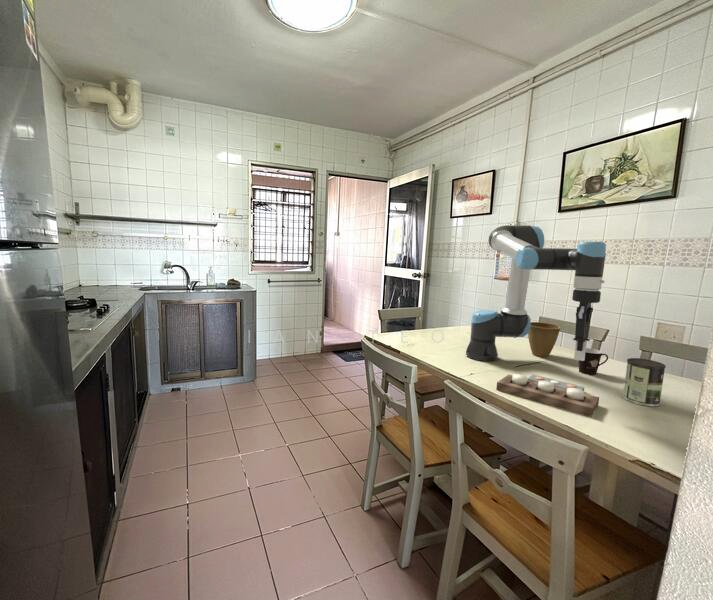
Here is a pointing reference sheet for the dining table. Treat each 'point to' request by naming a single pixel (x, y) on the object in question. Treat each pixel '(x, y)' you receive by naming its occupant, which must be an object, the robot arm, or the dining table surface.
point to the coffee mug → (591, 361)
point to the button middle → (546, 386)
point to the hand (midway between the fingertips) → (579, 359)
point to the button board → (549, 396)
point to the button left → (519, 379)
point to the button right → (575, 394)
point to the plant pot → (542, 338)
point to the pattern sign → (555, 382)
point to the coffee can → (644, 381)
